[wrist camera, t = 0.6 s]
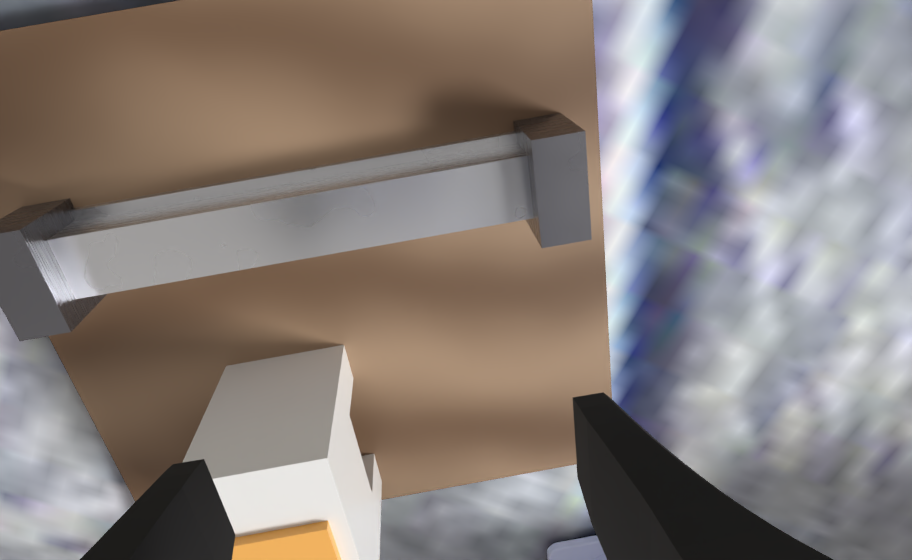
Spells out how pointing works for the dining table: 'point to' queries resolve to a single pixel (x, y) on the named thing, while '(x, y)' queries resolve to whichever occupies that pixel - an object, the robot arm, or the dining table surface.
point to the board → (335, 275)
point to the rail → (290, 219)
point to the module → (291, 460)
